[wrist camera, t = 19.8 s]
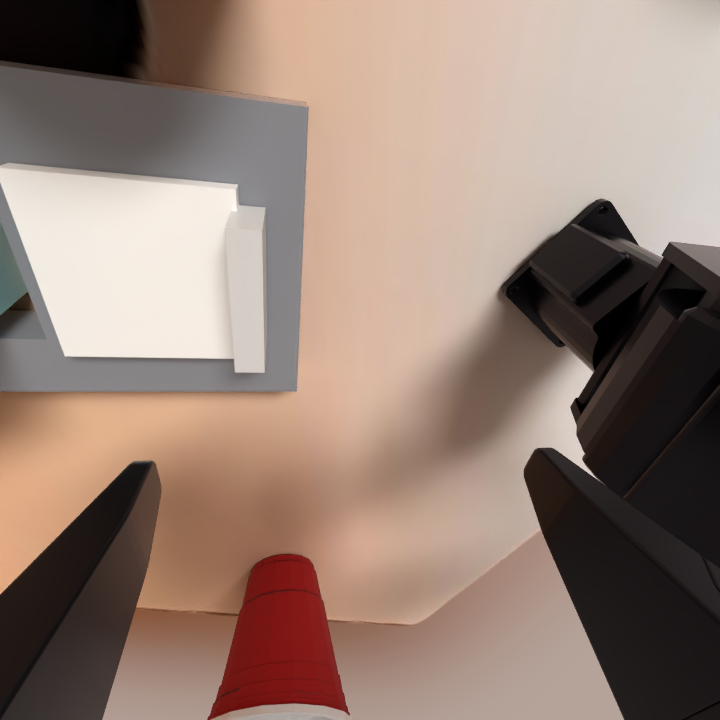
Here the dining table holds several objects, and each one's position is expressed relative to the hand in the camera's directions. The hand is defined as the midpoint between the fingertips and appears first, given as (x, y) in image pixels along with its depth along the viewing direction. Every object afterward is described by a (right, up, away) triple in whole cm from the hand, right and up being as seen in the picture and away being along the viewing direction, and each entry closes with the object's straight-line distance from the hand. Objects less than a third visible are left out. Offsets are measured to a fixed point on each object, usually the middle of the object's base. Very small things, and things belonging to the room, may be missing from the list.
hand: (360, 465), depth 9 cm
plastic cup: (-7, -17, +28) cm, 33 cm away
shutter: (-8, +6, +7) cm, 12 cm away
